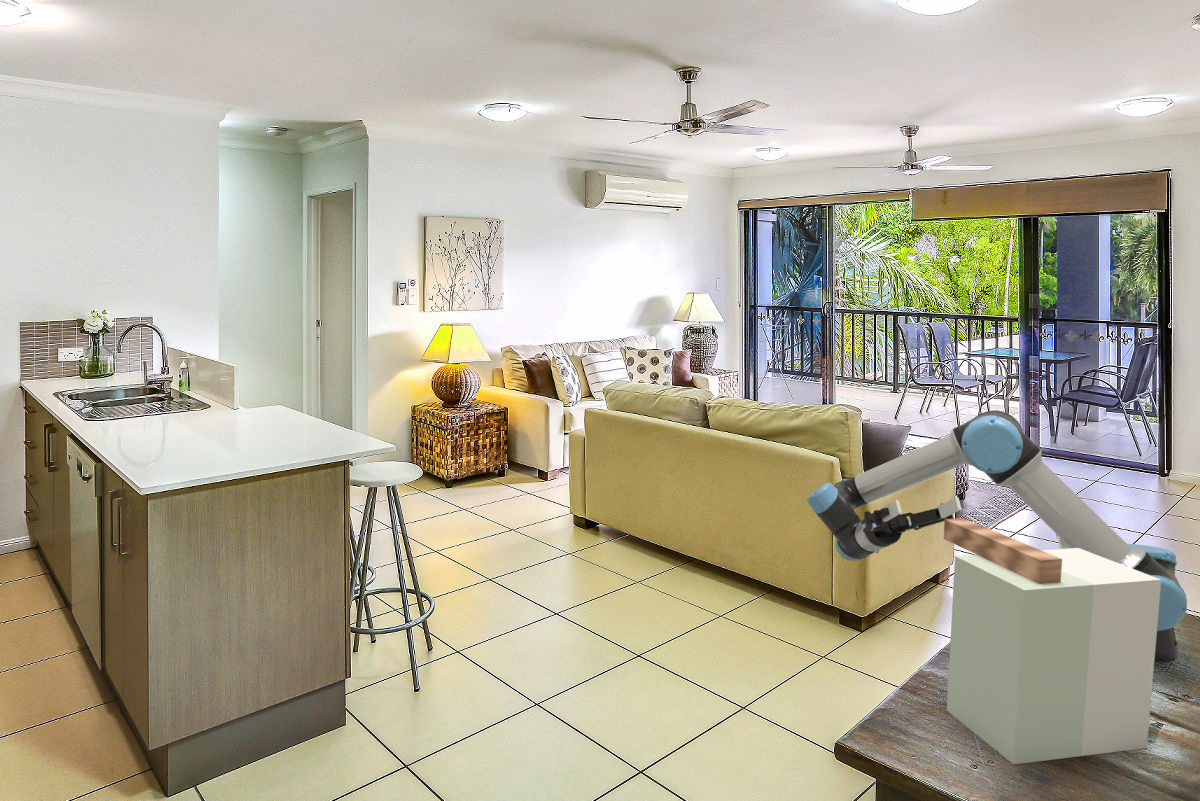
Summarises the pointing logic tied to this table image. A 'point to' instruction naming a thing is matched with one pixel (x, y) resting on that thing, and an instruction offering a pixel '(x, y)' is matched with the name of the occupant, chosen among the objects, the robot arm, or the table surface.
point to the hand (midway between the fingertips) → (929, 504)
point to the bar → (1004, 551)
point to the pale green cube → (1053, 657)
